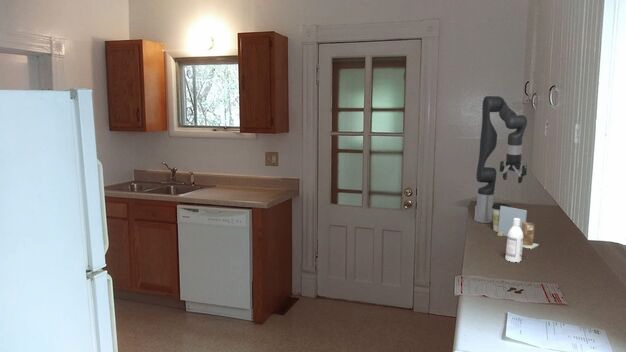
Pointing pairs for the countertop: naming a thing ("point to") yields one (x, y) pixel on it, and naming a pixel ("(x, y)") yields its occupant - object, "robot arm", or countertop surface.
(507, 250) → the bath foam
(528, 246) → the mat
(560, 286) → the countertop surface
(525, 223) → the brown wooden block
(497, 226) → the coffee cup
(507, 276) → the countertop surface
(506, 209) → the screen
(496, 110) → the robot arm
